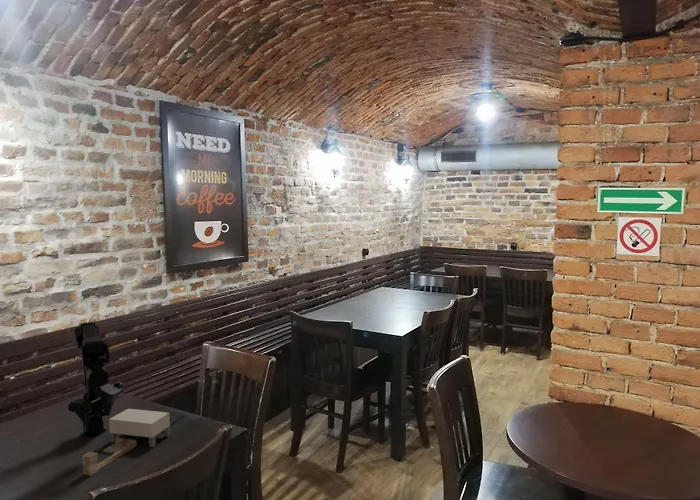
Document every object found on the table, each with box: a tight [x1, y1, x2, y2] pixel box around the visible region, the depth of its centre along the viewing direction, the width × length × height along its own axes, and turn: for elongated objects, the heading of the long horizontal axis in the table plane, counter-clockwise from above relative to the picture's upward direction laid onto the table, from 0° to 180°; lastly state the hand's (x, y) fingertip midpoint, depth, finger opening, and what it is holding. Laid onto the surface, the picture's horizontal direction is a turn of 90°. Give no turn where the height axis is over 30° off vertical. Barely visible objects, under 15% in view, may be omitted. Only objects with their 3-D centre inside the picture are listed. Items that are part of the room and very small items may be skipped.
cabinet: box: [108, 408, 171, 448], centre depth 185 cm, size 18×10×8 cm, turn 74°
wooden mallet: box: [82, 437, 137, 476], centre depth 170 cm, size 10×21×6 cm, turn 161°
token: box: [102, 442, 129, 455], centre depth 177 cm, size 6×6×1 cm
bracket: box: [162, 413, 184, 433], centre depth 199 cm, size 14×15×3 cm
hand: (97, 421), depth 173 cm, fingers open, 9 cm apart
